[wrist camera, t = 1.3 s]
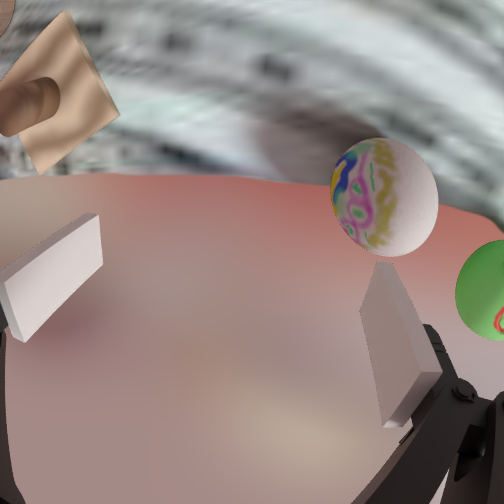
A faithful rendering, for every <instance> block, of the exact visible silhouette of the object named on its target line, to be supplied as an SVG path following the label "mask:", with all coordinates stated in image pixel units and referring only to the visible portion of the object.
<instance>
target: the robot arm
mask: <svg viewBox="0 0 504 504" xmlns="http://www.w3.org/2000/svg"><path fill="white" fill-rule="evenodd" d="M101 265H103V258H102V249H101V238H100V227H99V215H98V214H92V213H85V214H84V215H82V216H81V217H79V218H77V219H76V220H74V221H73V222H71V223H69V224H68V225H66V226H65V227H63V228H62V229H60V230H59V231H57V232H56V233H54V234H52V235H51V236H49V237H48V238H47V239H45V240H44V241H42V242H41V243H39V244H38V245H36V246H35V247H33V248H32V249H30V250H29V251H28V252H26V253H25V254H24V255H22V256H20V257H19V258H18V259H17V260H15V261H14V262H12V263H11V264H9V265H8V266H7V267H5V268H4V269H3V270H1V271H0V504H26V503H25V501H24V499H23V496H22V495H21V493H20V491H19V490H18V488H17V486H16V484H15V481H14V477H13V472H12V466H11V459H10V452H9V445H8V435H7V424H6V409H5V351H6V333H5V331H4V329H5V328H6V327H7V326H8V325H9V328H10V330H11V333H12V335H13V337H14V338H16V339H19V340H20V341H22V342H24V343H25V342H26V341H27V340H28V339H29V338H30V337H31V336H32V335H33V334H34V333H35V332H36V330H37V329H38V328H39V327H40V326H41V325H42V324H43V323H44V322H45V321H46V320H47V319H48V318H49V317H50V315H51V314H53V312H55V311H56V309H57V308H58V307H59V306H60V305H61V304H62V303H63V302H64V301H65V300H66V299H67V298H68V297H69V296H70V295H71V294H72V293H73V292H74V291H75V290H76V289H77V288H78V287H79V286H80V285H82V284H83V283H84V282H85V281H86V280H87V279H88V278H89V277H90V276H91V275H92V274H93V273H94V272H95V271H96V270H97V269H98V268H99V267H100V266H101ZM360 315H361V319H362V323H363V328H364V332H365V336H366V341H367V345H368V350H369V354H370V359H371V364H372V369H373V374H374V379H375V384H376V390H377V395H378V401H379V407H380V413H381V419H382V425H383V427H403V426H404V424H405V423H406V422H407V421H408V420H409V418H410V417H411V419H412V423H413V427H412V428H411V429H410V430H409V431H408V433H407V434H406V435H405V436H404V437H403V438H402V439H401V441H400V442H399V443H400V444H399V446H398V447H397V448H396V450H395V451H394V453H393V454H392V455H391V456H390V458H389V459H388V460H387V462H386V463H385V464H384V466H383V467H382V468H381V469H380V471H379V472H378V473H377V474H376V476H375V477H374V478H373V479H372V480H371V482H370V483H369V484H368V485H367V486H366V488H365V489H364V490H363V491H362V492H361V493H360V494H359V496H358V497H357V498H356V499H355V500H354V501H353V502H352V503H351V504H429V503H430V501H431V500H432V498H433V496H434V495H435V493H436V491H437V489H438V488H439V486H440V484H441V482H442V481H443V479H444V477H445V475H446V473H447V471H448V469H449V473H448V477H447V481H446V484H445V488H444V492H443V495H442V499H441V502H440V504H504V391H503V392H500V393H499V394H498V395H497V396H496V398H495V399H494V400H493V401H492V400H488V399H484V398H480V397H478V395H477V392H476V390H475V389H474V387H473V386H472V385H471V384H470V383H469V382H467V381H466V380H463V379H461V378H458V376H457V374H456V372H455V369H454V367H453V365H452V363H451V360H450V358H449V356H448V353H446V349H445V347H444V345H442V344H443V343H442V340H441V338H440V336H439V334H438V333H437V332H436V331H435V330H434V329H433V328H432V326H431V325H428V324H422V322H421V320H420V318H419V316H418V314H417V311H416V309H415V307H414V305H413V303H412V301H411V299H410V297H409V295H408V293H407V291H406V289H405V287H404V285H403V283H402V281H401V279H400V277H399V275H398V273H397V271H396V269H395V268H394V266H393V264H392V263H388V262H383V261H377V262H376V265H375V268H374V271H373V274H372V277H371V280H370V283H369V286H368V289H367V292H366V294H365V297H364V300H363V303H362V306H361V308H360ZM449 467H450V468H449Z"/></svg>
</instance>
